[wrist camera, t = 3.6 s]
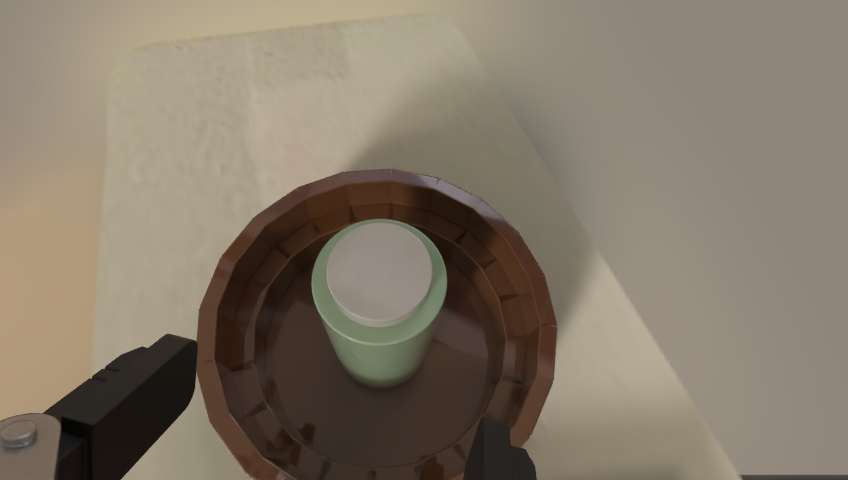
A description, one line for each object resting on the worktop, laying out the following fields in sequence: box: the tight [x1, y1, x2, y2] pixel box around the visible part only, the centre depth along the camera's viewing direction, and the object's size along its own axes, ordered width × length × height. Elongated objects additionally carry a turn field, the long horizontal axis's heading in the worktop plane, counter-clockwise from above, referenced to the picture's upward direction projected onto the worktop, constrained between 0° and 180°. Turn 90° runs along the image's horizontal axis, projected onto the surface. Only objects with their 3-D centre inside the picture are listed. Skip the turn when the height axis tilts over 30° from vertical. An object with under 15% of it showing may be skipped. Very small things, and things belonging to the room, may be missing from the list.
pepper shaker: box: [311, 219, 447, 389], centre depth 21 cm, size 5×5×10 cm
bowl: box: [196, 169, 557, 480], centre depth 23 cm, size 16×16×5 cm
